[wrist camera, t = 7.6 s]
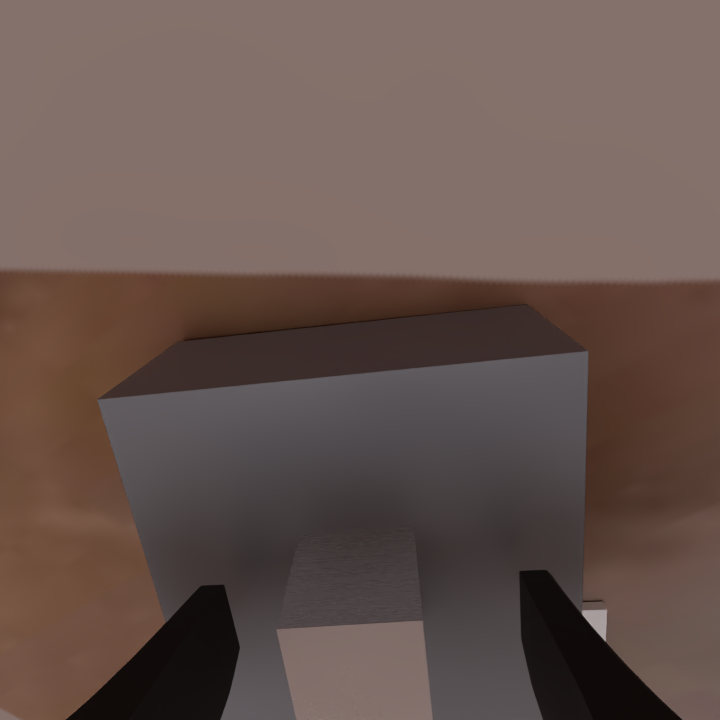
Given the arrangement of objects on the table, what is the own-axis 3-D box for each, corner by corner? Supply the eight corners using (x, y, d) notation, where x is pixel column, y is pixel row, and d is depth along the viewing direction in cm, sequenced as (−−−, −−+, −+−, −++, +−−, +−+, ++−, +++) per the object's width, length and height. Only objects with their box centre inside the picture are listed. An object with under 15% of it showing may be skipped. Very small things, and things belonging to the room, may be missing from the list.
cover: (526, 304, 16) (659, 404, 8) (531, 593, 20) (626, 847, 12) (177, 341, 17) (9, 463, 9) (243, 612, 20) (161, 859, 13)
